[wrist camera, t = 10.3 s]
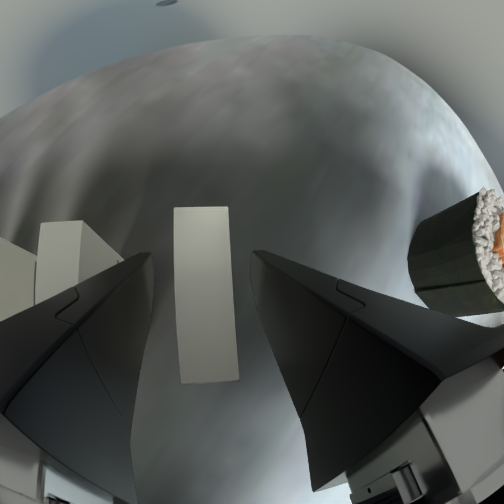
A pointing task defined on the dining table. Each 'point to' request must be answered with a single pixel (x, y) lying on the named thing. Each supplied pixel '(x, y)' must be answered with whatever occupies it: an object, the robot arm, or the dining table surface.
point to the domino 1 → (16, 279)
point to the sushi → (461, 257)
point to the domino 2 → (69, 257)
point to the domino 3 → (204, 295)
